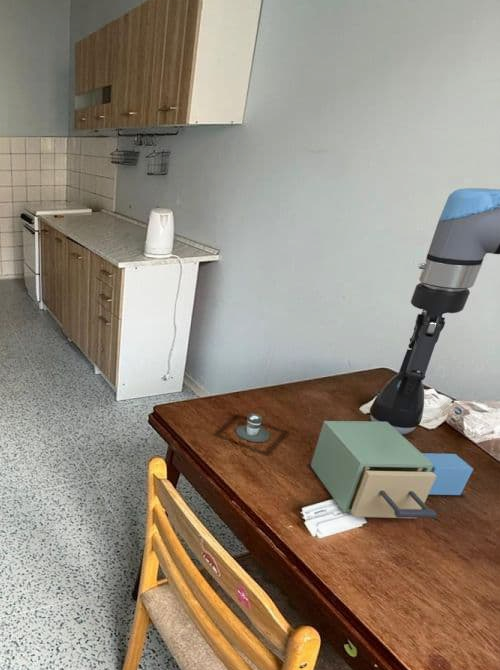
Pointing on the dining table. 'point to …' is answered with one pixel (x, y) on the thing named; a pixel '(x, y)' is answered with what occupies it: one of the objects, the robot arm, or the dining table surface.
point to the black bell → (395, 416)
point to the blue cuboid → (448, 474)
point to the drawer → (393, 493)
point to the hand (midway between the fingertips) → (402, 393)
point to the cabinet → (360, 455)
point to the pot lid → (253, 429)
